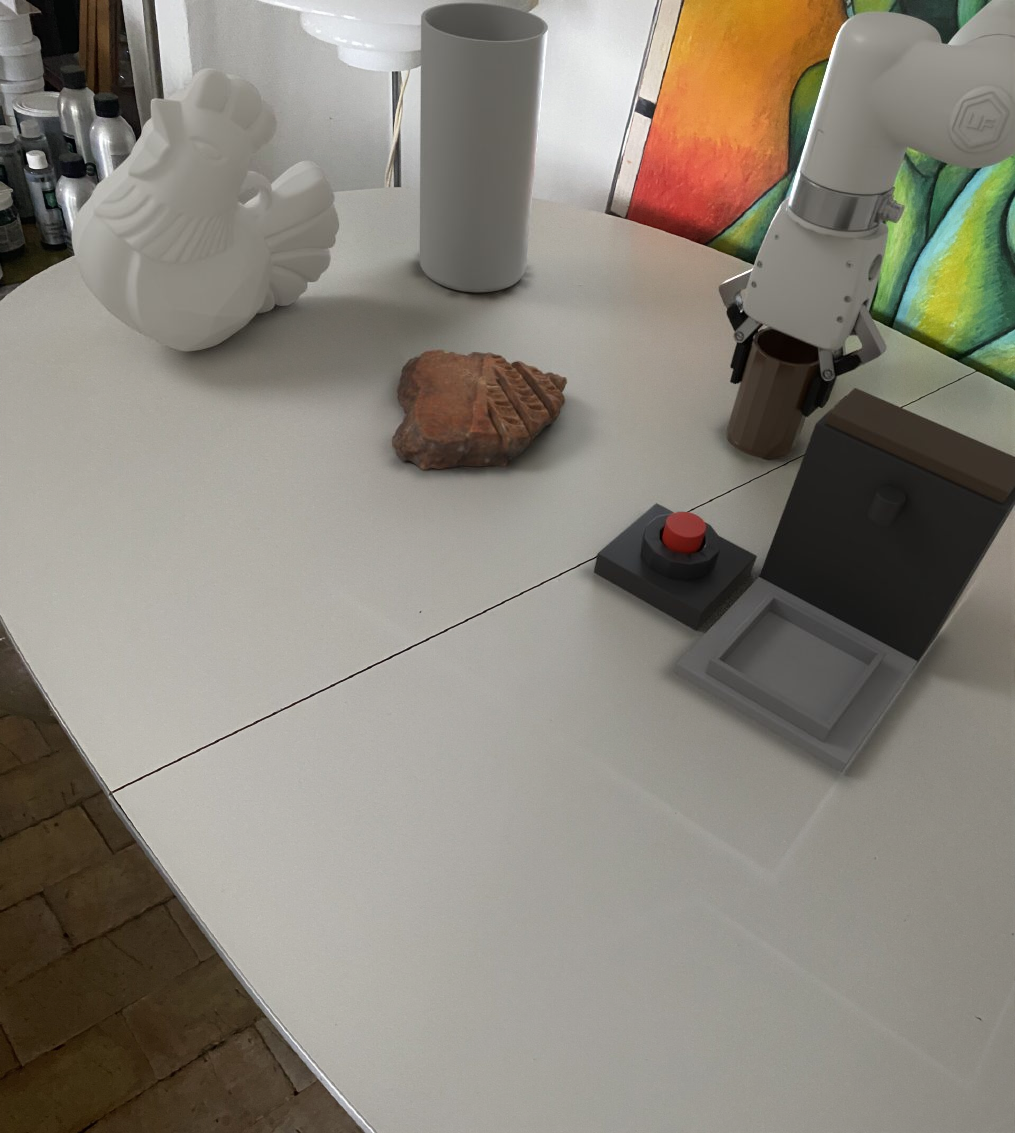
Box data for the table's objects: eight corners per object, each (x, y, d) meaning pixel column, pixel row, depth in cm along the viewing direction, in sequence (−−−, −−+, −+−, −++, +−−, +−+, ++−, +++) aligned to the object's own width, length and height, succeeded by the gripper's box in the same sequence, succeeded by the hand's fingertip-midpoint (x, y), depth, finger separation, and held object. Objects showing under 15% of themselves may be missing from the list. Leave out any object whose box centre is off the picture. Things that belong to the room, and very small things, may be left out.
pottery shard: (561, 386, 98) (566, 350, 95) (568, 478, 87) (573, 441, 84) (402, 375, 97) (402, 339, 94) (389, 466, 86) (389, 429, 84)
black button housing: (750, 575, 80) (763, 539, 78) (695, 632, 76) (707, 595, 73) (651, 522, 84) (660, 485, 81) (593, 573, 79) (600, 536, 76)
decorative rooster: (59, 327, 85) (204, 92, 73) (33, 219, 92) (162, -13, 80) (286, 418, 104) (431, 242, 92) (251, 322, 111) (382, 147, 99)
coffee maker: (935, 637, 77) (1039, 464, 64) (840, 773, 67) (941, 601, 55) (782, 557, 82) (850, 382, 70) (673, 673, 72) (729, 494, 60)
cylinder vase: (397, 262, 112) (395, 12, 94) (477, 236, 118) (489, -4, 100) (467, 306, 107) (479, 49, 88) (547, 276, 113) (574, 30, 94)
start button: (708, 540, 77) (713, 523, 76) (688, 559, 76) (693, 543, 74) (675, 522, 79) (679, 506, 77) (654, 541, 77) (658, 524, 76)
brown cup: (806, 438, 95) (840, 346, 87) (775, 468, 91) (807, 374, 83) (747, 410, 97) (775, 318, 90) (713, 438, 93) (739, 345, 86)
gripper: (957, 221, 76) (875, 415, 89) (765, 154, 82) (715, 344, 95) (921, 251, 72) (841, 449, 85) (721, 178, 78) (676, 373, 91)
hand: (775, 392), depth 90 cm, fingers closed on brown cup, 6 cm apart
